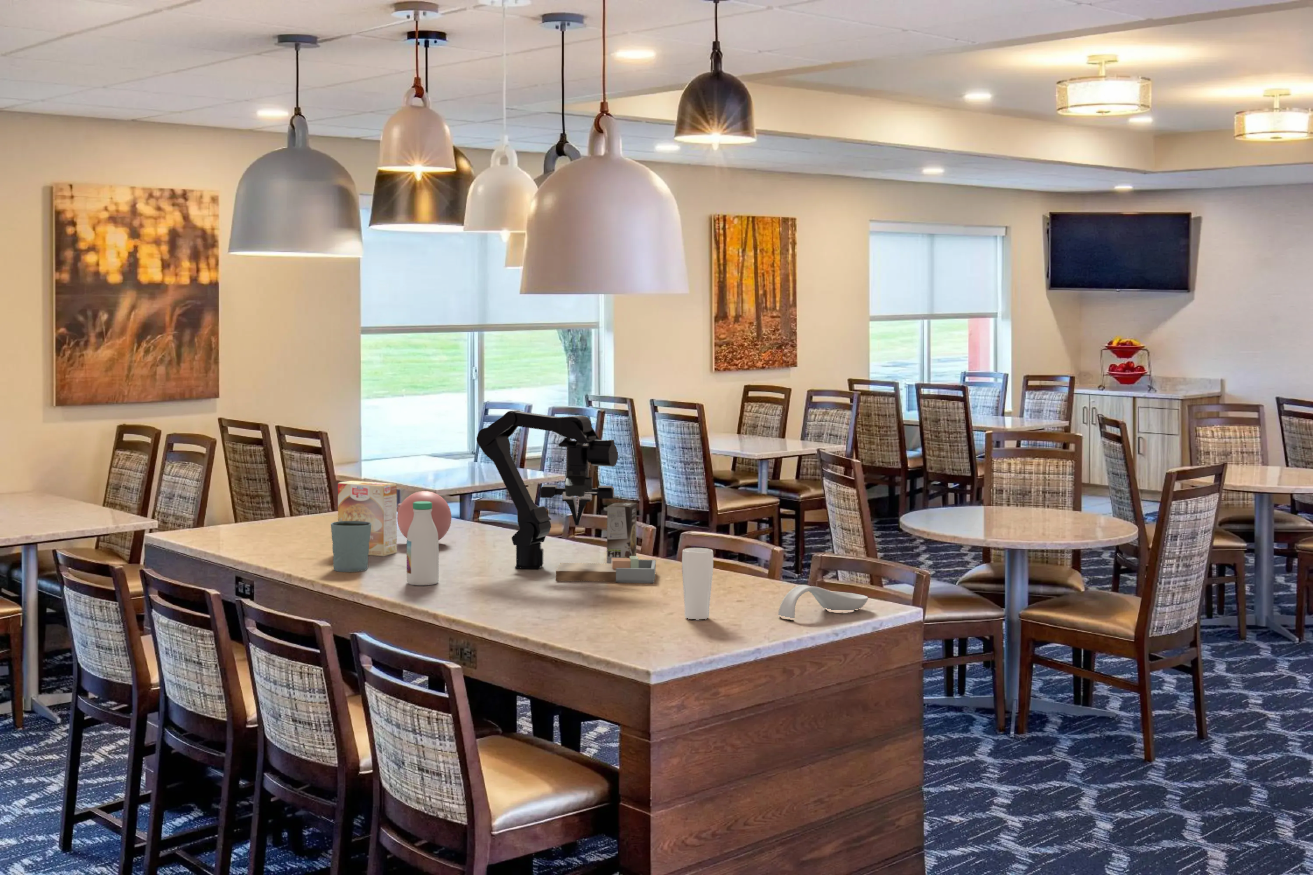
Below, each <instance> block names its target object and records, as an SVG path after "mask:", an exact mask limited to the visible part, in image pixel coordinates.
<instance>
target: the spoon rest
mask: <svg viewBox="0 0 1313 875" xmlns="http://www.w3.org/2000/svg"><path fill="white" fill-rule="evenodd" d="M808 592H809V593H811V595H812V596H813V598H815V600H816V602H818V604H819V605H820V606H821V608H823V609H824V608H827V609H831V610H855V609H859V608H860V609H862V608H863V607H864V606H865V605H866V603H867V602H868V600H869V597H868V596H867V595H864V594H858V593H854V592H853V593H852V592H844V591H831V590H828V589H825V588H822V587H819V586H814V585H813V586H812V585H811V586H810V585H808V584H800V585H797V586H794V587H793V588H792V589H790V590H789V591H788V592H787V593H786V594H785V596H784V597H783V599H782V601H781V603H780V605H779V610H778V613H777V616H778V615H781V616H785V617H790V618H795V615H796V614H795V612H796V605H797V601H798V600H799V599H800V597H801V596H802V595H803V594H805V593H808ZM860 609H859V610H860Z"/></svg>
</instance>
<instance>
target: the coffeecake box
mask: <svg viewBox="0 0 1313 875" xmlns="http://www.w3.org/2000/svg"><path fill="white" fill-rule="evenodd" d="M397 486H398V485H397V483H396V482H395V483H394V482H393V483H389V482H375V481H361V480H348V481H347V480H346V481H340V482H338V483H337V517H338V518H337V522H339V521H364V522H370V523H371V533H370V541H369V554H368V556H375V557H376V556H377V557H387V556H390V555H393V554H397V553H398V550H397V547H398V541H397V540H398V534H397V533H398V532H397V531H398V530H397V529H398V522H397V514H398V512H397V507H398V506H397V500H398V499H397V498H398V496H397V488H398V487H397Z"/></svg>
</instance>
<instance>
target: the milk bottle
mask: <svg viewBox="0 0 1313 875" xmlns="http://www.w3.org/2000/svg"><path fill="white" fill-rule="evenodd" d="M413 511H414V517H413V520H412V523H411V525H410V527H409V530H408V534H407V538H406V583H407V584H408V585H412V586H431V585H435V584H438V583H439V577H440V574H439V573H440V571H439V570H440V569H439V568H440V567H439V566H440V564H439V563H440V562H439V560H440V558H439V557H440V556H439V555H440V554H439V549H440V548H439V541H438V532H437V529H436V527H435V524H434V522H433V519H432V516H431V511H432V502H428V501H418V502H414V503H413Z"/></svg>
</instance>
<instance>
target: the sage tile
mask: <svg viewBox="0 0 1313 875" xmlns="http://www.w3.org/2000/svg"><path fill="white" fill-rule="evenodd" d="M629 559H630V568H639V556H638V555H636V556H630V558H629Z"/></svg>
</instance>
